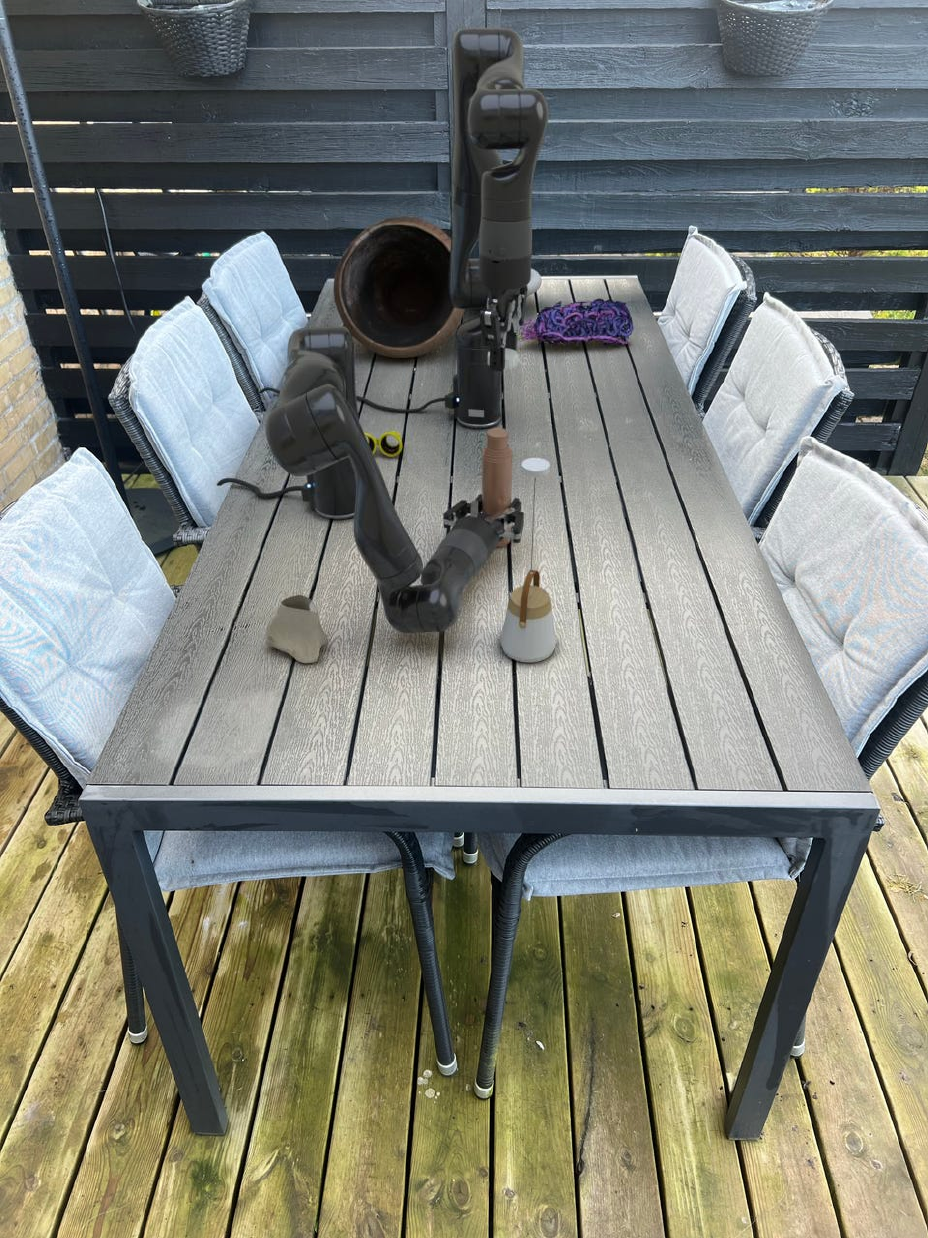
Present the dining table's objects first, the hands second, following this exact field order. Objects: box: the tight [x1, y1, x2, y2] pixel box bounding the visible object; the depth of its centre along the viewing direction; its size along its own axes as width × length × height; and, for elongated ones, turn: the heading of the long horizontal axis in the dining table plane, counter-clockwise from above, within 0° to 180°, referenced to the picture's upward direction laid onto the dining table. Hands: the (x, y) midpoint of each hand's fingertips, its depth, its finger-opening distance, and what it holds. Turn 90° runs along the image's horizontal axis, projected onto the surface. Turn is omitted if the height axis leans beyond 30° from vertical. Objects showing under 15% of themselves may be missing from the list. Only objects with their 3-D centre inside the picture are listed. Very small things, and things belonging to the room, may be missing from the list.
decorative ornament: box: [516, 298, 634, 347], centre depth 229 cm, size 13×11×30 cm
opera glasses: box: [364, 430, 403, 458], centre depth 185 cm, size 10×5×5 cm, turn 95°
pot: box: [333, 215, 466, 359], centre depth 229 cm, size 32×32×30 cm
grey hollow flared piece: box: [265, 594, 328, 664], centre depth 135 cm, size 9×8×10 cm
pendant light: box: [499, 457, 557, 663], centre depth 128 cm, size 8×8×30 cm
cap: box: [488, 348, 519, 370], centre depth 142 cm, size 5×5×2 cm
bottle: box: [481, 427, 514, 548], centre depth 155 cm, size 5×5×20 cm
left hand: (501, 499), depth 159 cm, fingers closed on bottle, 5 cm apart
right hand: (503, 363), depth 143 cm, fingers closed on cap, 4 cm apart
